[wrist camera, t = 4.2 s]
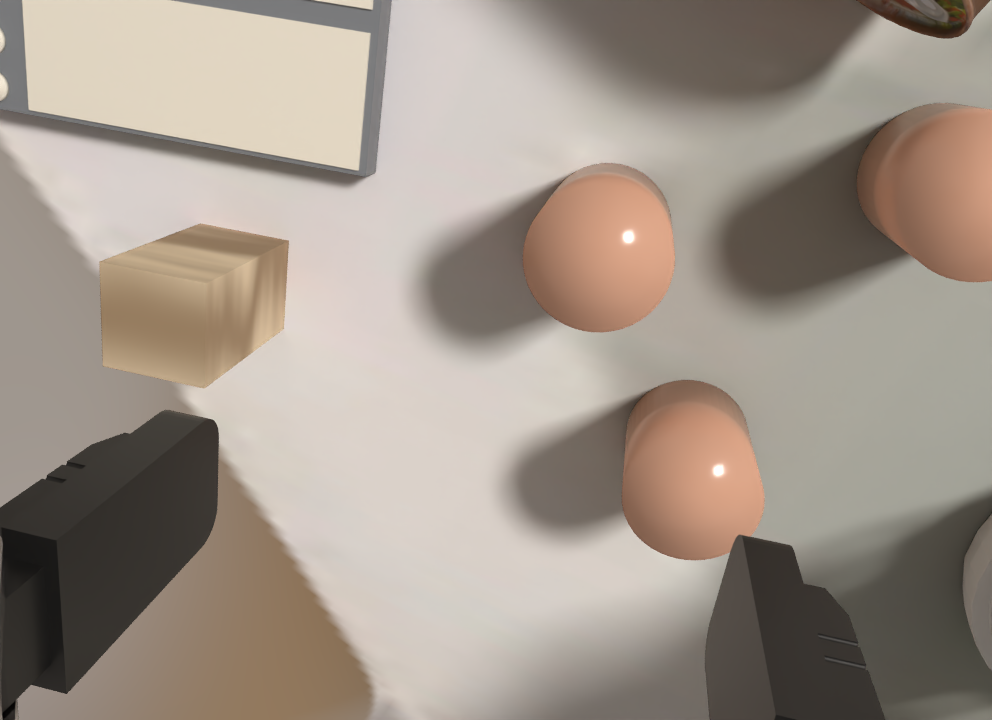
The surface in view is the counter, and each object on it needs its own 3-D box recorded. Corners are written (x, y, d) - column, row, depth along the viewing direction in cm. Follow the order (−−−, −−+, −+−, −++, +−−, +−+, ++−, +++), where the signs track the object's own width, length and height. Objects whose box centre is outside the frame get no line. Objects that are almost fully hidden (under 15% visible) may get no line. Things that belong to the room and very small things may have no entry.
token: (200, 223, 35) (99, 261, 29) (288, 240, 35) (206, 283, 28) (199, 311, 37) (103, 366, 30) (284, 328, 36) (204, 388, 30)
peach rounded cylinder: (881, 91, 29) (930, 99, 24) (1030, 115, 28) (1112, 129, 23) (838, 230, 31) (875, 265, 26) (977, 255, 30) (1042, 296, 25)
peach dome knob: (554, 152, 32) (536, 171, 27) (684, 175, 31) (690, 199, 26) (533, 276, 34) (512, 316, 28) (655, 300, 33) (656, 345, 28)
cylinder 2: (639, 368, 34) (637, 424, 29) (761, 393, 33) (781, 454, 28) (615, 473, 36) (609, 543, 31) (730, 498, 35) (744, 573, 30)
